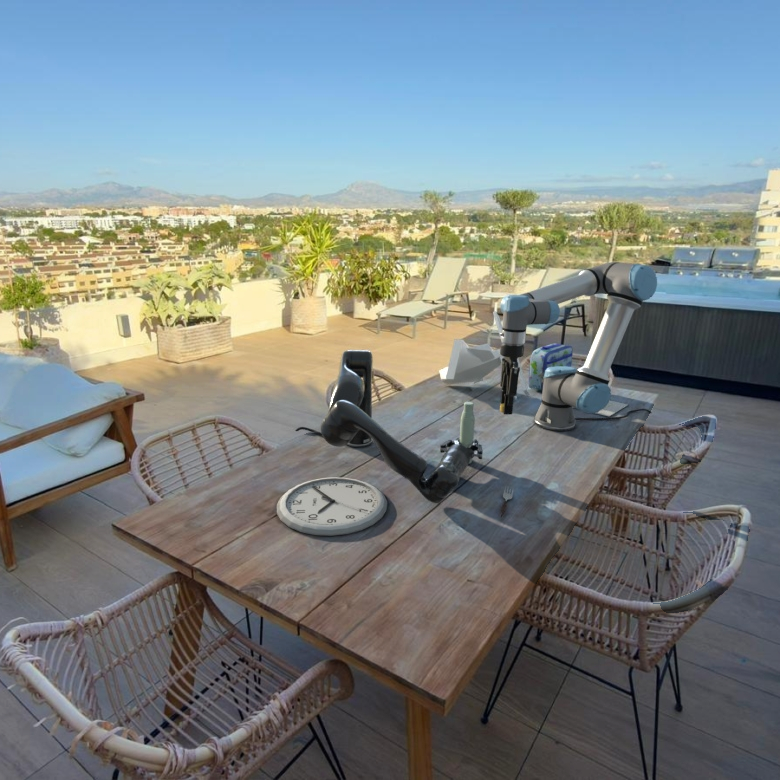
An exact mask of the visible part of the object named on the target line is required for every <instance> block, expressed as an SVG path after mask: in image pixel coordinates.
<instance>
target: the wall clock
mask: <svg viewBox="0 0 780 780" xmlns="http://www.w3.org/2000/svg"><path fill="white" fill-rule="evenodd" d="M387 509H388V500H387V498H386V496H385V494H384V493H383V492H382V491H381V490H380V489H379V488H377V487H376V486H374V485H372V484H371V483H369V482H365V481H362V480H359V479H355V478H349V477H338V476H337V477H335V476H333V477H332V476H331V477H322V478H317V479H312V480H307V481H305V482H302V483H299V484H297V485H295V486H293V487H292V488H290V489H288V490H287V491H286V492H285V493H284V494H283V495H281V496H280V498H279V499H278V502H277V503H276V515H277V517H278V518H279V520H280V521H281V522H282V523H283V524H285V525H286V526H287V527H288V528H290V529H293V530H295V531H297V532H299V533H303V534H308V535H312V536H327V537H328V536H329V537H331V536H332V537H333V536H342V535H350V534H352V533H356V532H361V531H363V530H366V529H368V528H369V527H372V526H373V525H375V524H376V523H378V522H379V521H380V520H381V519H382V518H383V517H384V516H385V514H386V512H387Z"/></svg>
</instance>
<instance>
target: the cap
mask: <svg viewBox="0 0 780 780" xmlns="http://www.w3.org/2000/svg"><path fill="white" fill-rule="evenodd" d="M499 412H500V413H502V414H503V413H504V403H503V404H501V403H500V404H499Z"/></svg>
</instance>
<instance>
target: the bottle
mask: <svg viewBox="0 0 780 780" xmlns="http://www.w3.org/2000/svg"><path fill="white" fill-rule="evenodd" d="M475 422H476V418H475V413H474V402H472V401H465V402H464V403H463V410H462V413H461V416H460V423H459V424H460V427H459V437H460V440H459V444H460V445H463V446H466V445H468V444H472V442H473V441H474V439H475V438H474V435H475V424H476V423H475ZM472 462H473V458H471V459H470V462H469V463H468V465H469V464H472Z"/></svg>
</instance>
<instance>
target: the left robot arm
mask: <svg viewBox="0 0 780 780" xmlns="http://www.w3.org/2000/svg"><path fill="white" fill-rule="evenodd" d="M373 367H374V357H373V353H372V352H371V351H370V350H364V349H363V350H362V349H361V350H360V349H353V350H352V349H348V350H344V351H343V352H342V354H341V357H340V361H339V367H338V373H337V376H336V379H335V382H334V385H333V389H332V393H331V397H330V401H329V404H328V405H329V406H328V410H327V412H326V414H325V416H324V418H323V420H321V421H322V422H321V424H320V431H318V430H315V429H314V428H313V429H312V428H310V427H306V426H299V427H297V428H296V429H295V432H299V431H301V430H304V431H307V432H311V433H314V434H316V435H318V436H322V437H323V439H324V440H325V441H326V443H328V444H329V445H330V446H333V447H337V448H342V447H345V446H348V447H351V448H365V447H368V446H370V445H372V443H373V442H374V444H375V445H376V448H377V450H378V452H379V453H380V456H381V458H382V460H383V461H384V463H385V464H386V465H387V466H388V467H389V468H390V469H391V470H392V471H394V472H396V473H397V474H398V475H400V476H402V477H403V478H405V479H406V480H407V481H409V482H410V483H411V485H413V487H414V488H415V489H416V490H417V491H418V492H419V493H420V495H421V496H423V498H424V499H426V501H428V502H429V503H433V504H440V503H441V502H443V501H444V500H445V499H446V498H447V497H448V496H449V495H450V494H451V493H452V492H453V491H454V490H455V489H456V487H457V486H458V484H459V483H460V477H461V475H462V474H463V473H464V471H465V470H466V468H467V467H468V465H469V464H468V463H469V462H470V459H471V458H472V459H473V458H474V457H475V458H478V460H482V459H483V453H484V451H483V446H482V444H480V443H479V440H478V439H477V438H473V442H472V444H468V445H466V446H463V445H460V444H459V440H460V436H458V437H456V439H454V440H452V439H447V440H446V441H445V442H443V443H441V444H440V445H439V447H440V448H439V449H440V450H439V452H440V453H442V454H443V453H444V454H443V455H442V456H441V459H440V461H439V462H438V464H437V466H436V468H435V470H434V471H433V472H432V473H431V474H430V475H429V476H428V477H426V476H425V475H424V474H425V473H426V471H427V469H428V468H427V467H428V462H427V460H426V459H424V458H423V457H422V456H421V455H419V454H417V453H415V451H412V450H411V449H409V448H408V447H406V446H405V445H404V444H402V443H401V442H399V441H398V440H397V439H396V438H394V437H393V436H392V435H391V434H390V433H389V432H388V431H387V430H386V429H384V427H382V426H381V425H380V424H379V423H378V422H377V421H375V419H373V417H372V416H373V415H372V414H373V413H372V411H373V410H372V409H373V408H372V407H373V404H372V403H373V391H372V390H373V387H372V385H373Z"/></svg>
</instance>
